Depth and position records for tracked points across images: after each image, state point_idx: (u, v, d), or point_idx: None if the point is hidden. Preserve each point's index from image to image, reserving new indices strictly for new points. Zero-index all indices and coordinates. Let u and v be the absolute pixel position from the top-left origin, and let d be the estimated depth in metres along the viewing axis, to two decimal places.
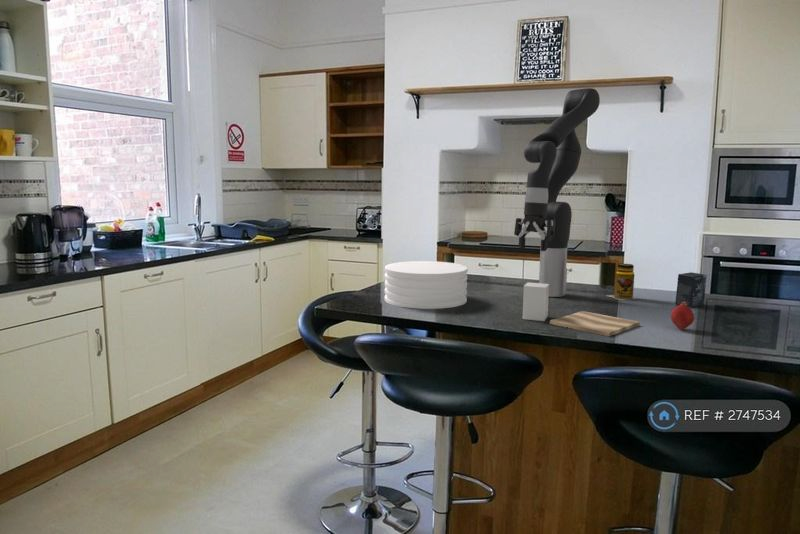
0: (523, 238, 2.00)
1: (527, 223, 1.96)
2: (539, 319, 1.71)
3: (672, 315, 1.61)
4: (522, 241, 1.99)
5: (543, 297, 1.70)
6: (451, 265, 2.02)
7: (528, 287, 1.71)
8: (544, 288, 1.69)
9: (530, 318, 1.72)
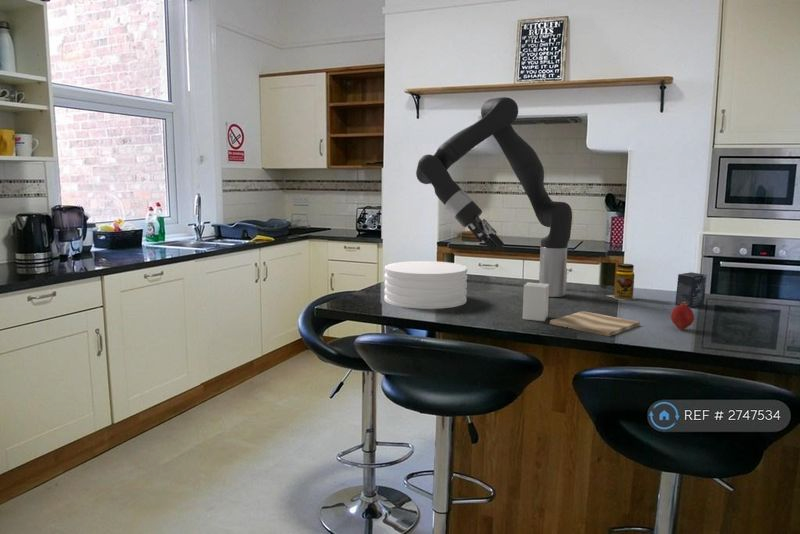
0: (493, 238, 1.80)
1: None
2: (539, 319, 1.71)
3: (672, 315, 1.61)
4: (494, 241, 1.80)
5: (543, 297, 1.70)
6: (451, 265, 2.01)
7: (528, 287, 1.71)
8: (544, 288, 1.69)
9: (530, 318, 1.72)
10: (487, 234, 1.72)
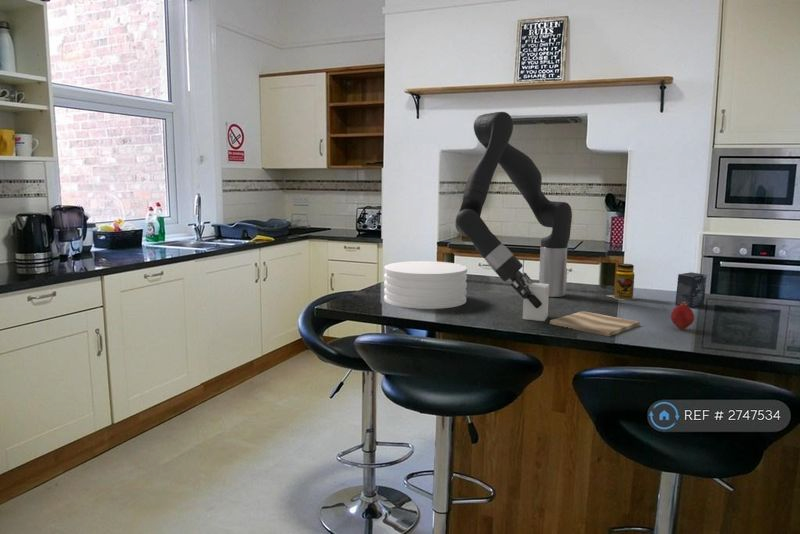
0: None
1: None
2: (539, 319, 1.71)
3: (672, 315, 1.61)
4: None
5: (543, 297, 1.70)
6: (451, 265, 2.01)
7: None
8: (544, 288, 1.69)
9: (530, 318, 1.72)
10: (531, 291, 1.70)
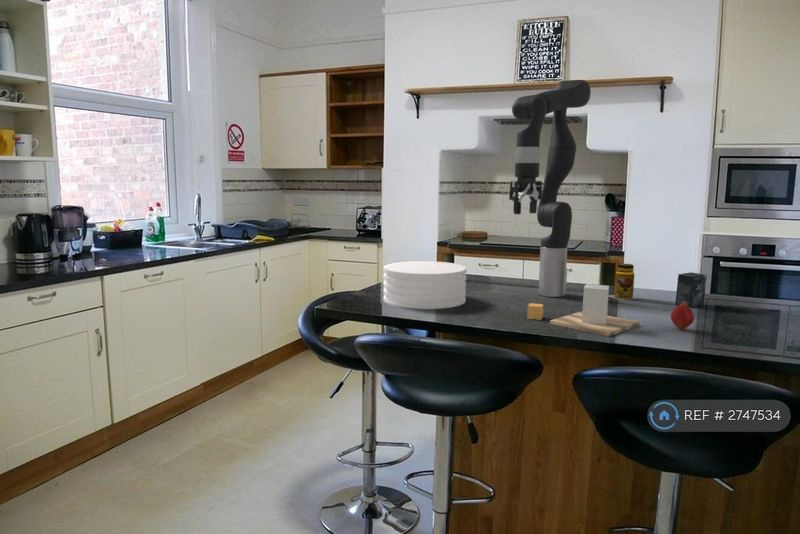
0: (532, 202, 1.88)
1: None
2: (600, 322, 1.63)
3: (672, 315, 1.61)
4: (531, 205, 1.88)
5: (604, 300, 1.62)
6: (450, 265, 2.01)
7: (588, 289, 1.63)
8: (606, 290, 1.62)
9: (590, 321, 1.64)
10: (520, 198, 1.81)
